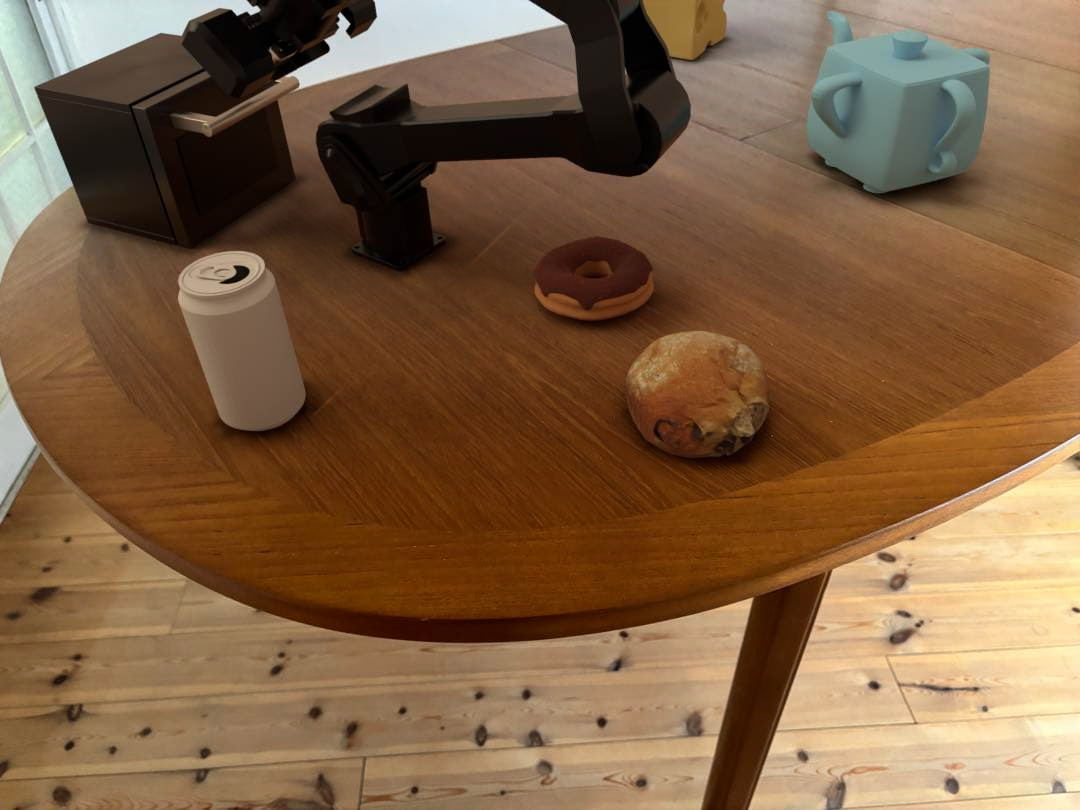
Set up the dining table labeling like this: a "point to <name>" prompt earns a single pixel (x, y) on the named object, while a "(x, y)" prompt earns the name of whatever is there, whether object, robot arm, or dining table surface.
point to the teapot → (898, 107)
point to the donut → (584, 298)
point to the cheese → (688, 24)
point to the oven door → (215, 151)
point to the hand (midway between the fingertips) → (249, 86)
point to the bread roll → (697, 394)
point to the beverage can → (242, 339)
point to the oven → (116, 132)
